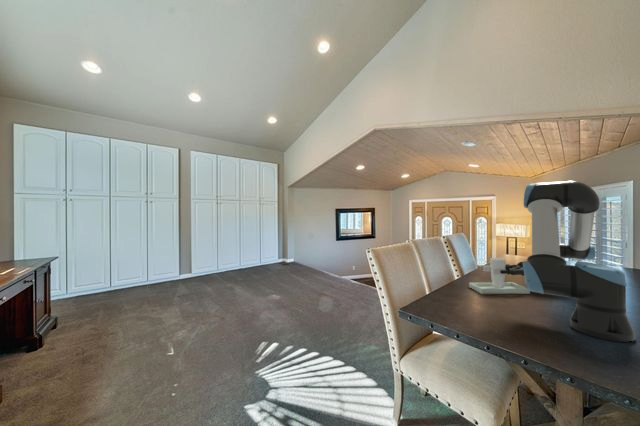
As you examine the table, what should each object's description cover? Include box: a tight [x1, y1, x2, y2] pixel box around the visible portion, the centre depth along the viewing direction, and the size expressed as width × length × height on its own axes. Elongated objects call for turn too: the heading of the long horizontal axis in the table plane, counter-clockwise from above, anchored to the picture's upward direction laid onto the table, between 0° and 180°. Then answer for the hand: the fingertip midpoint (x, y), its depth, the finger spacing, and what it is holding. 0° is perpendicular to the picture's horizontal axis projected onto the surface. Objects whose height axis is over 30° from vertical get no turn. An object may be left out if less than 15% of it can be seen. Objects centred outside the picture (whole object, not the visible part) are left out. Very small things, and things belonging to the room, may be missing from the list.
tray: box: [468, 281, 531, 295], centre depth 134 cm, size 24×12×2 cm, turn 88°
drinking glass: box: [489, 257, 506, 288], centre depth 134 cm, size 7×7×15 cm
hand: (488, 270), depth 134 cm, fingers closed on drinking glass, 6 cm apart
